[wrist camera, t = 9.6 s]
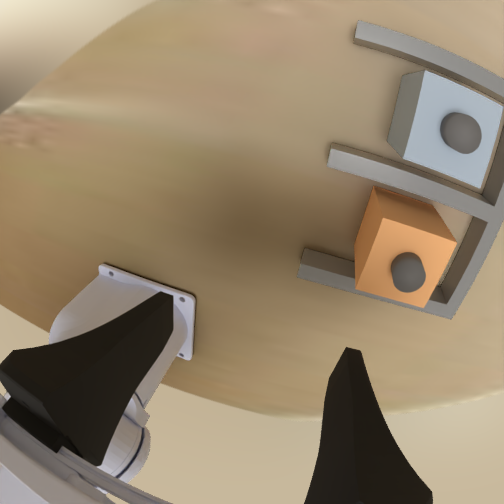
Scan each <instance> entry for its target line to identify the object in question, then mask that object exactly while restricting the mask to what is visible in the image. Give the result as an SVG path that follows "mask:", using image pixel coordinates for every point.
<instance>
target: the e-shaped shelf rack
mask: <svg viewBox="0 0 504 504" xmlns="http://www.w3.org/2000/svg"><path fill="white" fill-rule="evenodd" d="M353 44H357V45H361V46H365V47H368V48H372V49H375V50H378V51H382V52H385V53H388V54H391V55H394V56H397V57H400V58H403V59H406V60H409V61H412V62H414V63H417V64H420V65H422V66H425V67H428V68H430V69H433V70H435V71H438V72H440V73H442V74H445V75H447V76H449V77H452V78H454V79H456V80H458V81H460V82H463V83H465V84H467V85H469V86H471V87H473V88H475V89H477V90H479V91H481V92H483V93H485V94H487V95H489V96H491V97H493V98H494V99H496V100H498V101H500V102H502V103H503V104H504V79H503V78H501V77H499V76H497V75H496V74H494V73H492V72H490V71H488V70H486V69H484V68H483V67H481V66H479V65H477V64H475V63H473V62H471V61H469V60H467V59H464V58H462V57H460V56H458V55H456V54H454V53H451V52H449V51H447V50H444V49H442V48H440V47H437V46H435V45H432V44H430V43H427V42H425V41H422V40H420V39H417V38H414V37H411V36H408V35H406V34H403V33H400V32H397V31H394V30H390V29H387V28H384V27H381V26H377V25H374V24H370V23H367V22H363V21H359V20H358V23H357V27H356V32H355V37H354V42H353ZM327 167H330V168H333V169H337V170H340V171H344V172H347V173H351V174H354V175H358V176H361V177H364V178H368V179H371V180H374V181H377V182H380V183H384V184H387V185H390V186H393V187H396V188H399V189H402V190H405V191H408V192H411V193H414V194H416V195H419V196H422V197H425V198H428V199H430V200H433V201H436V202H439V203H441V204H444V205H447V206H449V207H452V208H454V209H457V210H460V211H462V212H465V213H467V214H470V215H472V216H474V217H473V219H472V222H471V224H470V226H469V229H468V231H467V233H466V236H465V238H464V240H463V242H462V244H461V247H460V249H459V251H458V253H457V255H456V257H455V259H454V261H453V263H452V265H451V267H450V269H449V271H448V273H447V275H446V277H445V279H444V281H443V283H442V285H441V287H438V286H436V287H435V289H434V291H433V292H432V294H431V296H430V298H429V300H428V302H427V303H426V305H425V307H424V308H421V307H418V306H414V305H410V304H407V303H403V302H400V301H396V300H392V299H389V298H385V297H382V296H378V295H374V294H371V293H367V292H364V291H360V290H356V289H355V262H353V261H349V260H346V259H342V258H339V257H335V256H332V255H328V254H325V253H321V252H317V251H314V250H310V249H307V248H305V249H304V252H303V256H302V259H301V263H300V267H299V271H298V274H297V277H298V278H301V279H305V280H309V281H312V282H316V283H319V284H323V285H326V286H330V287H334V288H337V289H341V290H344V291H348V292H352V293H355V294H359V295H363V296H366V297H370V298H373V299H377V300H381V301H384V302H388V303H392V304H396V305H399V306H403V307H407V308H410V309H414V310H418V311H421V312H425V313H429V314H433V315H436V316H440V317H444V318H448V319H452V318H453V316H454V314H455V313H456V311H457V310H458V308H459V306H460V305H461V303H462V301H463V300H464V298H465V296H466V294H467V293H468V291H469V289H470V287H471V285H472V284H473V282H474V280H475V278H476V276H477V274H478V272H479V271H480V269H481V267H482V265H483V263H484V261H485V259H486V257H487V255H488V253H489V251H490V249H491V246H492V244H493V242H494V240H495V238H496V236H497V233H498V231H499V229H500V227H501V224H502V222H503V220H504V127H503V130H502V134H501V138H500V141H499V145H498V148H497V152H496V155H495V158H494V162H493V165H492V168H491V171H490V174H489V177H488V180H487V183H486V185H485V188H484V191H483V194H482V195H481V194H478V193H476V192H474V191H471V190H469V189H467V188H464V187H462V186H460V185H457V184H455V183H452V182H450V181H447V180H445V179H442V178H440V177H437V176H434V175H432V174H429V173H426V172H424V171H421V170H418V169H415V168H413V167H410V166H407V165H404V164H401V163H398V162H395V161H392V160H389V159H386V158H383V157H380V156H377V155H374V154H370V153H367V152H364V151H360V150H357V149H354V148H350V147H347V146H343V145H339V144H336V143H332V145H331V149H330V153H329V157H328V162H327Z"/></svg>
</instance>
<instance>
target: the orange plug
mask: <svg viewBox="0 0 504 504" xmlns="http://www.w3.org/2000/svg"><path fill="white" fill-rule="evenodd" d="M456 244H457V242H456V240H455V238H454V237H453V235H452V234H451V232H450V230H449V229H448V227H447V226H446V224H445V223H444V221H443V220H442V218H441V217H440V215H439V214H438V212H437V211H436V209H435V208H434V206H433V205H430V204H427V203H424V202H421V201H419V200H416V199H413V198H410V197H407V196H404V195H401V194H398V193H395V192H392V191H389V190H386V189H383V188H380V187H376V186H373V189H372V192H371V195H370V198H369V202H368V205H367V208H366V211H365V214H364V217H363V220H362V223H361V226H360V229H359V232H358V235H357V238H356V240H355V243H354V252H355V289H356V290H360V291H364V292H367V293H371V294H374V295H378V296H382V297H385V298H389V299H392V300H396V301H400V302H403V303H407V304H410V305H414V306H418V307H421V308H424V307H425V305H426V303H427V302H428V300H429V298H430V296H431V294H432V292H433V291H434V289H435V287H436V285H437V283H438V281H439V279H440V277H441V275H442V273H443V271H444V269H445V267H446V265H447V263H448V261H449V259H450V257H451V255H452V253H453V251H454V249H455V246H456Z"/></svg>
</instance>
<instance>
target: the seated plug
mask: <svg viewBox="0 0 504 504" xmlns="http://www.w3.org/2000/svg"><path fill="white" fill-rule="evenodd" d="M502 112H503V106H501V105H499V104H497V103H496V102H494V101H492V100H490V99H488V98H486V97H484V96H482V95H480V94H478V93H476V92H474V91H472V90H470V89H468V88H466V87H464V86H461V85H459V84H457V83H455V82H453V81H450V80H448V79H446V78H443V77H441V76H438V75H436V74H434V73H431V72H429V71H426V70H423V71H419V72H415V73H410V74H406V75H402V79H401V84H400V89H399V93H398V98H397V102H396V106H395V110H394V115H393V119H392V123H391V127H390V131H389V134H388V138H387V142H388V143H389V144H390V145H391V146H392V147H393V148H394V149H395V150H396V151H397V153H398V154H399V155H400V156H401V157H402V158H403V159H405V160H408V161H411V162H414V163H417V164H419V165H422V166H425V167H428V168H430V169H433V170H436V171H438V172H441V173H443V174H446V175H448V176H451V177H453V178H456V179H458V180H461V181H463V182H466V183H468V184H470V185H473V186H475V187H477V188H479V189H480V187H481V184H482V181H483V178H484V175H485V172H486V169H487V166H488V163H489V160H490V157H491V153H492V150H493V146H494V143H495V139H496V136H497V132H498V128H499V124H500V120H501V116H502Z"/></svg>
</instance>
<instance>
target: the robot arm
mask: <svg viewBox="0 0 504 504" xmlns="http://www.w3.org/2000/svg"><path fill="white" fill-rule="evenodd" d="M112 272H113V273H112ZM182 297H183V298H184V299H183V298H182ZM195 303H196V300H195V298H194V296H192V295H191V294H188V293H185V292H182V291H179V290H176V289H173V288H170V287H167V286H164V285H161V284H158V283H156V282H153V281H150V280H147V279H144V278H141V277H139V276H136V275H133V274H130V273H128V272H125V271H122V270H119V269H117V268H114V267H111V266H109V265H106V264H101V265H100V266H99V275H98V276H97V277H96V278H95V279H94V280H93V281H91V282H90V283H89V284H88V285H87V286H86V287H85V288H84V289H83V290H82V291H81V292H80V293H79V294H77V295H76V296H75V297H74V298H73V299H72V300H71V301H70V302H69V303H68V304H67V305H66V306H65V307H64V308H63V309H62V310H61V311H60V312H59V314H58V315H57V317H56V319H55V320H54V322H53V325H52V327H51V330H50V334H49V345H44V346H39V347H34V348H27V349H20V350H13V351H12V352H11V353H10V354H9V355H8V356H7V357H6V358H5V360H4V361H3V362H2V363H1V364H0V381H1V383H2V384H3V386H4V387H5V389H6V390H7V392H6V393H5V395H4V397H3V396H2V395H1V394H0V504H115V503H114V502H112V501H111V500H110V499H109V498H107V497H106V494H107V493H110V494H112V495H114V496H116V497H118V498H120V499H122V500H124V501H126V502H128V503H130V504H172V503H169V502H167V501H164V500H162V499H160V498H157V497H155V496H153V495H151V494H148V493H146V492H144V491H142V490H140V489H138V488H135V487H133V486H131V485H129V484H127V483H128V482H129V481H130V480H132V479H133V478H134V477H135V476H136V475H137V474H138V472H139V471H140V470H141V468H142V467H143V465H144V463H145V462H146V460H147V457H148V455H149V451H150V433H149V430H148V429H147V428H146V427H145V424H146V422H147V421H148V419H149V417H150V415H149V414H148V413H146V411H145V410H144V409H145V407H146V405H147V404H148V402H149V400H150V399H151V397H152V395H153V394H154V392H155V390H156V389H157V387H158V385H159V384H160V382H161V380H162V379H163V377H164V375H165V374H166V372H167V370H168V369H169V367H170V365H171V364H172V362H173V360H174V359H175V357H176V356H178V357H180V358H183V359H186V360H191V359H192V357H193V338H194V319H195ZM304 504H433V497H432V491H431V490H430V489H429V488H428V487H427V485H426V484H425V483H424V482H423V481H422V480H421V479H420V477H419V476H418V475H417V474H416V472H415V471H414V469H413V468H412V467H411V466H410V464H409V463H408V461H407V459H406V458H405V456H404V455H403V453H402V452H401V450H400V448H399V447H398V445H397V443H396V442H395V440H394V438H393V436H392V434H391V432H390V430H389V428H388V426H387V424H386V422H385V419H384V417H383V415H382V412H381V410H380V408H379V405H378V402H377V400H376V397H375V394H374V391H373V389H372V386H371V383H370V380H369V377H368V373H367V370H366V367H365V364H364V360H363V357H362V353H361V351H360V350H356V349H352V348H348V347H346V348H345V350H344V352H343V354H342V356H341V357H340V359H339V361H338V363H337V365H336V367H335V368H334V370H333V372H332V374H331V376H330V377H329V381H328V386H327V391H326V396H325V401H324V411H323V420H322V430H321V439H320V447H319V453H318V457H317V461H316V465H315V469H314V473H313V476H312V480H311V483H310V487H309V490H308V493H307V497H306V500H305V502H304Z"/></svg>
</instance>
